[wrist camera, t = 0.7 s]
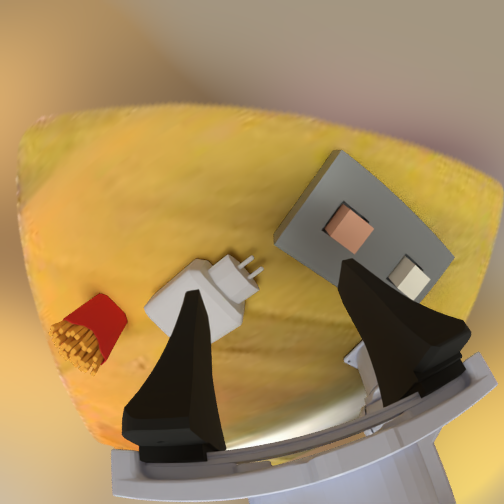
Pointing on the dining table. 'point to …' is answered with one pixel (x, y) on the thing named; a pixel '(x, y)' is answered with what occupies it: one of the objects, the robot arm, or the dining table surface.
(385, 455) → the robot arm
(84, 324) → the french fries
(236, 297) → the charger
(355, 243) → the terracotta key
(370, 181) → the key box
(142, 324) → the dining table surface
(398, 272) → the offwhite key
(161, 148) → the dining table surface
